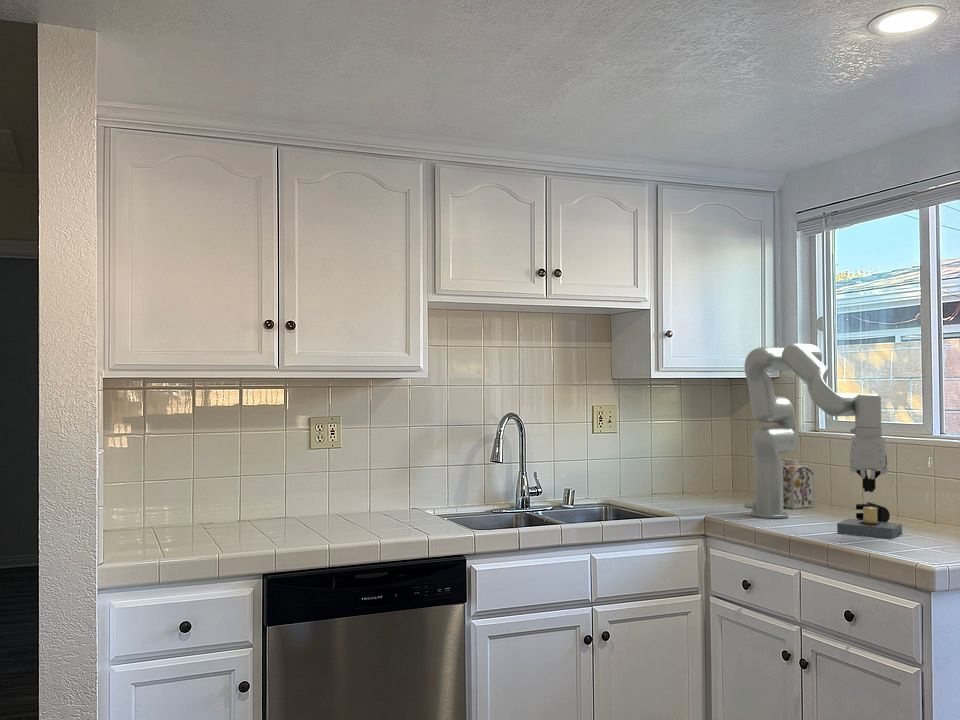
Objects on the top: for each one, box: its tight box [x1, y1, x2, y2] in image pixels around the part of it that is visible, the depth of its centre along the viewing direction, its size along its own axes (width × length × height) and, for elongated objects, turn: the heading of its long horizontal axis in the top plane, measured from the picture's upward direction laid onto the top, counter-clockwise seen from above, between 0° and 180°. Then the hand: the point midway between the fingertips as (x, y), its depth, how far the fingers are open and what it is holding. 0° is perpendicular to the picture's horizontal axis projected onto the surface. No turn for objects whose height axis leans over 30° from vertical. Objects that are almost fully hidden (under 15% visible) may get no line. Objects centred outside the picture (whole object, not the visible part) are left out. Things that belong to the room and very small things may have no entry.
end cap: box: [855, 501, 891, 522], centre depth 281 cm, size 10×7×7 cm
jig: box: [836, 518, 903, 539], centre depth 264 cm, size 16×12×3 cm
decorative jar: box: [782, 458, 815, 510], centre depth 322 cm, size 12×12×18 cm
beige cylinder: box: [862, 507, 877, 525], centre depth 264 cm, size 4×4×8 cm
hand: (869, 491), depth 264 cm, fingers closed
